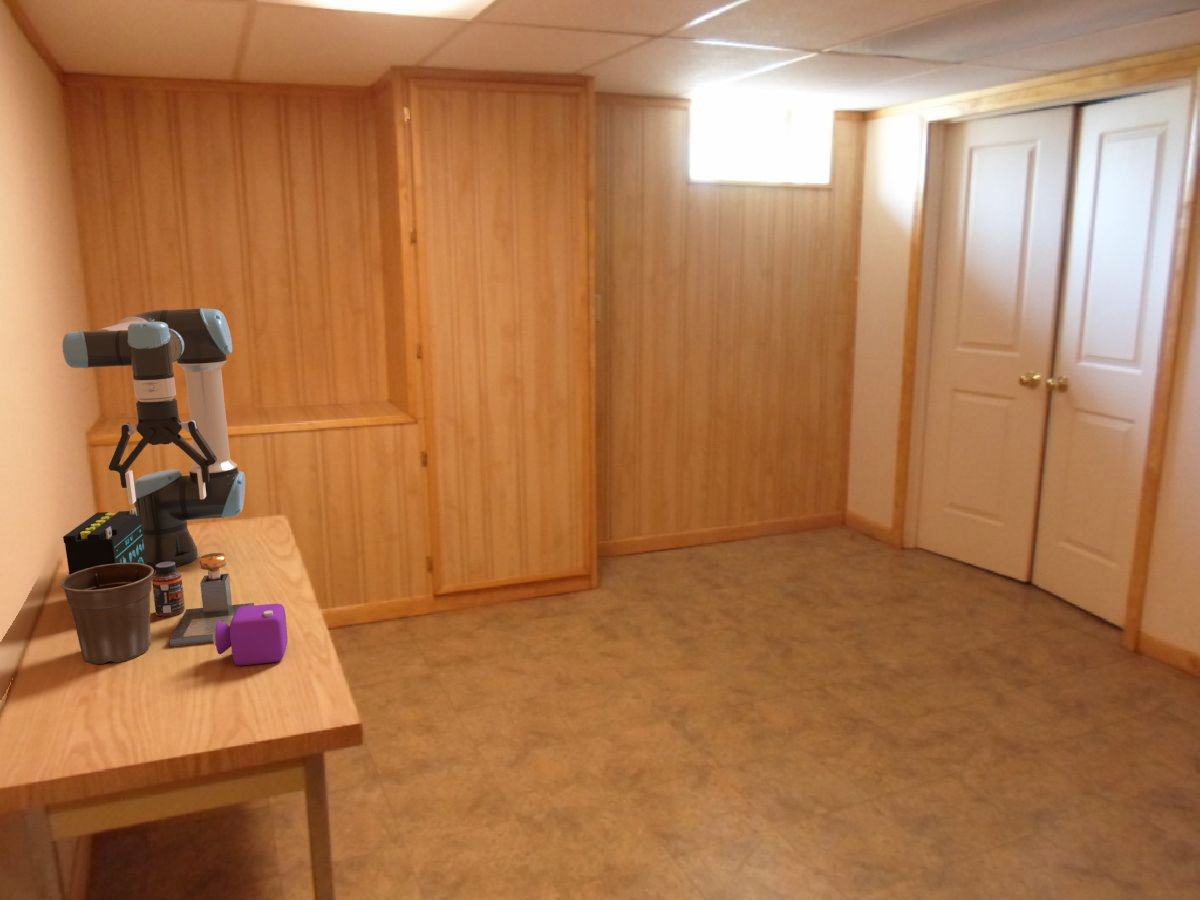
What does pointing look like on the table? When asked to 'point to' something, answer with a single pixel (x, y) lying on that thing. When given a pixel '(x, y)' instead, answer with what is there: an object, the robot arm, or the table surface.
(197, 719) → the table surface
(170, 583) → the supplement bottle
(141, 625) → the plant pot
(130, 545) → the battery
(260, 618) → the toy camera
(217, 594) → the base
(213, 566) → the plunger
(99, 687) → the table surface
